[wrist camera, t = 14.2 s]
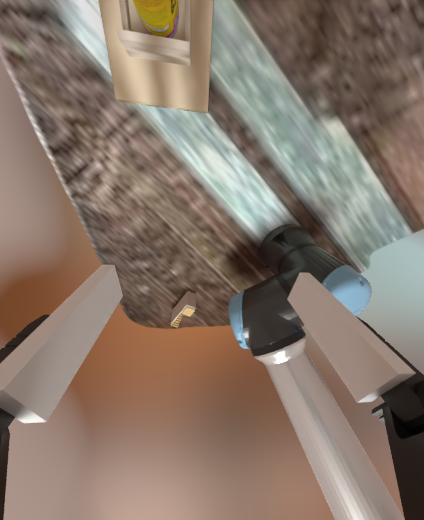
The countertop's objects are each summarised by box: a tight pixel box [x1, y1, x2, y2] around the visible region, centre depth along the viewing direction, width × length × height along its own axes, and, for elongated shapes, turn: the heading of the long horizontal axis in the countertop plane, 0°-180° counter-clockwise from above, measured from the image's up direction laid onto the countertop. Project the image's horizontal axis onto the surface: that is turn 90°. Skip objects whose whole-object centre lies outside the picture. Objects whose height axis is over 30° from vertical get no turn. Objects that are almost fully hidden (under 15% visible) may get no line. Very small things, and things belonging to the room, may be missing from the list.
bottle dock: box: [99, 0, 213, 113], centre depth 21 cm, size 16×20×5 cm
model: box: [171, 291, 196, 328], centre depth 52 cm, size 3×11×8 cm, turn 145°
